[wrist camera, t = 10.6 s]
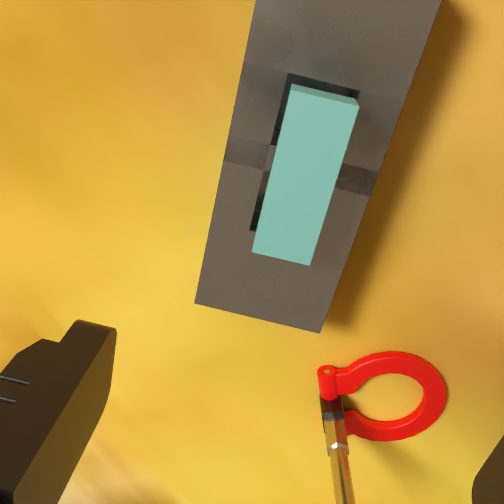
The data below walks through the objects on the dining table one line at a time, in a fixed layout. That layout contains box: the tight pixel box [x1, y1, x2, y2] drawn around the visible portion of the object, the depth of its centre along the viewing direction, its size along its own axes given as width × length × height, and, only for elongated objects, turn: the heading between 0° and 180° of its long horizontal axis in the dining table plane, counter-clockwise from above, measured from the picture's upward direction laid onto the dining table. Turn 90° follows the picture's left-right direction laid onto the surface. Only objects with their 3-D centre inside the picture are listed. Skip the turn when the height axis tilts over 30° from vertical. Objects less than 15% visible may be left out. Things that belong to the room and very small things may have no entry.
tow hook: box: [317, 351, 446, 504], centre depth 31 cm, size 8×13×9 cm
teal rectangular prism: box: [252, 84, 359, 266], centre depth 25 cm, size 8×3×6 cm, turn 168°
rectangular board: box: [194, 0, 442, 334], centre depth 27 cm, size 20×8×4 cm, turn 167°
